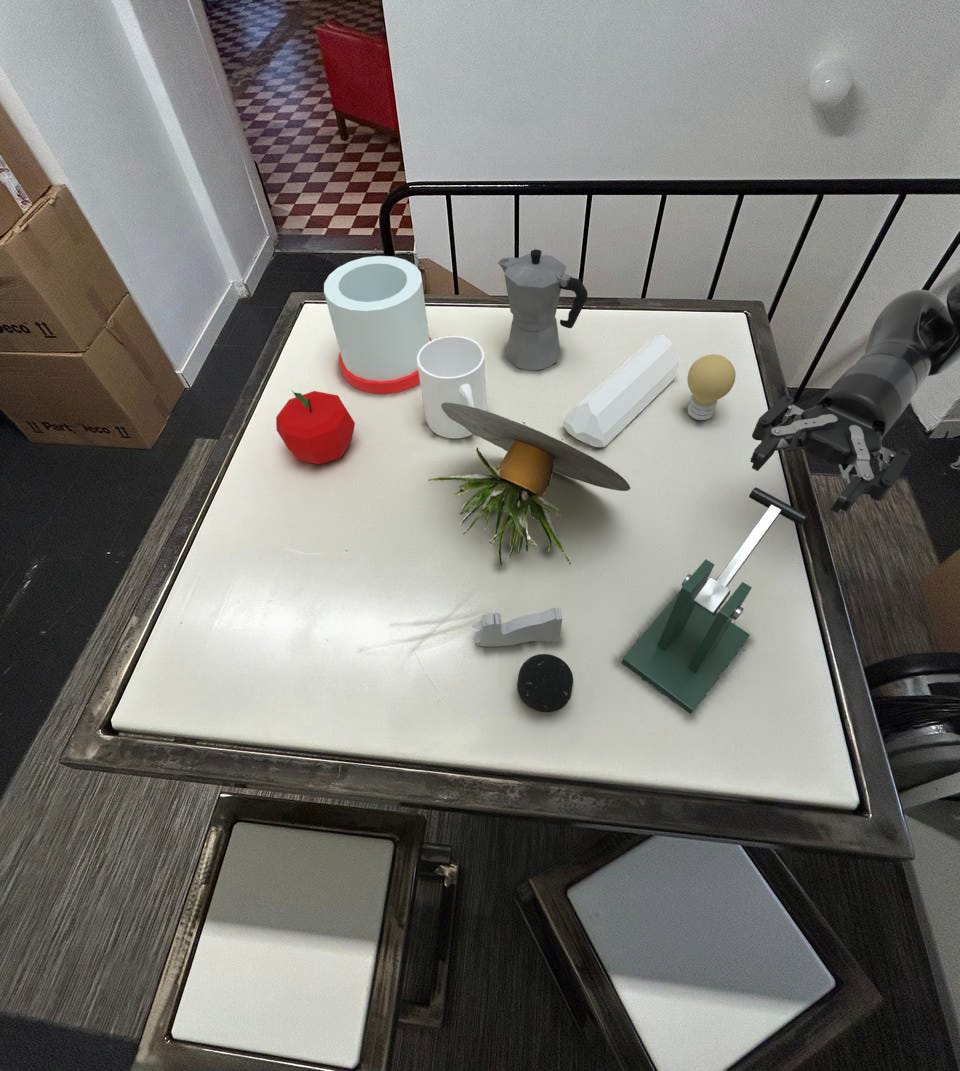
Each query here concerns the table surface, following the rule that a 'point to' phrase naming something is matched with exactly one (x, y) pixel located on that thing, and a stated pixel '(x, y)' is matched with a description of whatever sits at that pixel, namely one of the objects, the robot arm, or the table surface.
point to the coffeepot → (537, 308)
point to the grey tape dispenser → (519, 628)
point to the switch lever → (745, 550)
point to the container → (378, 322)
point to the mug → (451, 381)
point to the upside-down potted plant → (522, 474)
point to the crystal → (623, 393)
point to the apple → (315, 427)
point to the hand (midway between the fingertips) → (796, 484)
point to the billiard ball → (545, 683)
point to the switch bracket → (689, 643)
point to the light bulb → (709, 384)
